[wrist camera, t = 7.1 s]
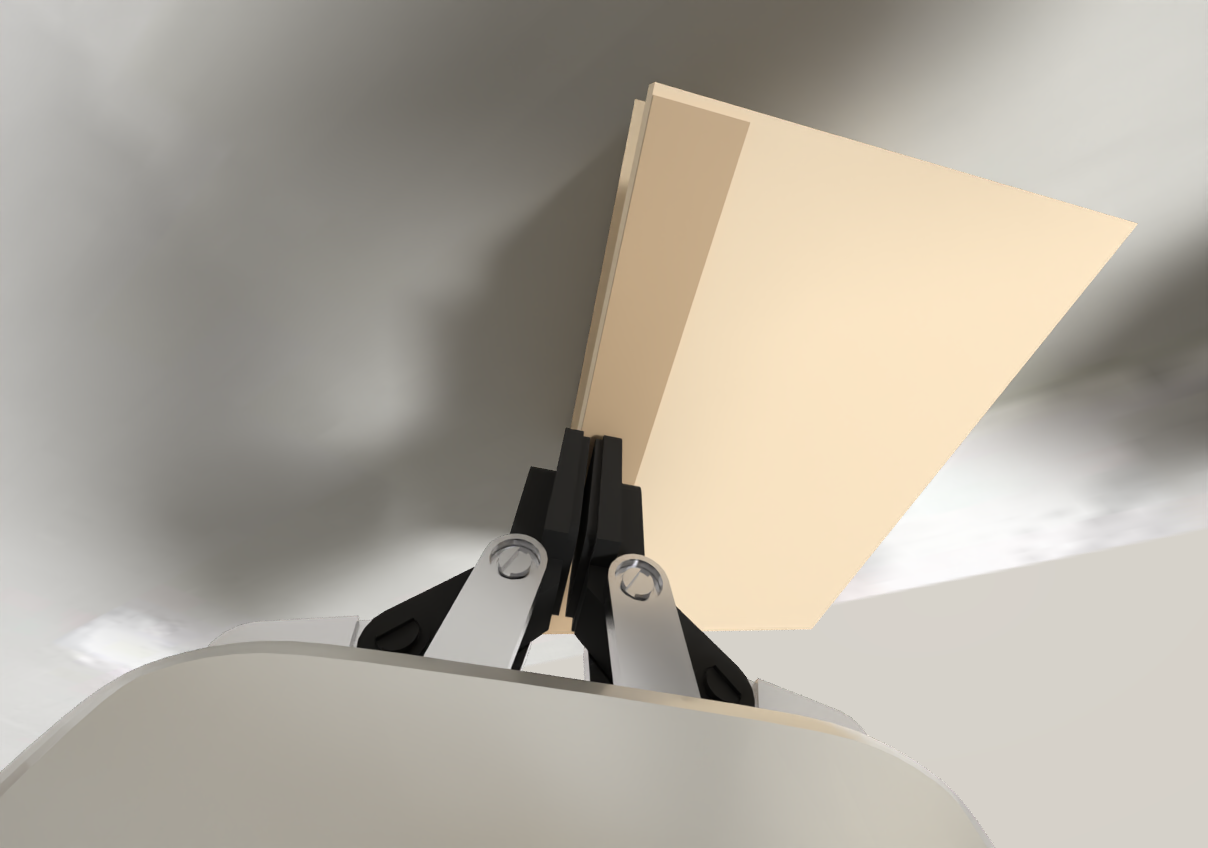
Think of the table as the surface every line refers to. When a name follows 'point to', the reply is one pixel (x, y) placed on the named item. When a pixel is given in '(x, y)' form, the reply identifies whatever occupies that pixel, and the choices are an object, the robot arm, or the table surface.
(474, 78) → the table surface
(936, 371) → the lid
